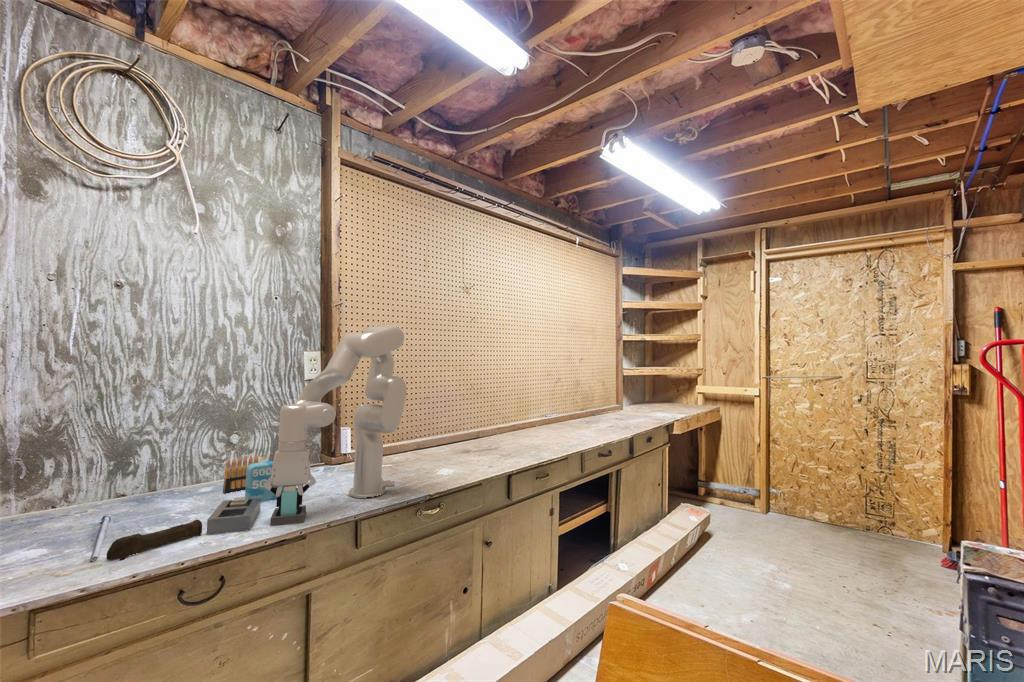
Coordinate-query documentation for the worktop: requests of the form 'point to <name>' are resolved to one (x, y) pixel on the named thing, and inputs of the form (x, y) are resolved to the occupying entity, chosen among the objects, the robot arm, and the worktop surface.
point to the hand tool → (151, 539)
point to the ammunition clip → (236, 475)
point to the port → (234, 515)
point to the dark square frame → (288, 517)
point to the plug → (289, 500)
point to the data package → (259, 481)
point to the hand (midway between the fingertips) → (289, 507)
